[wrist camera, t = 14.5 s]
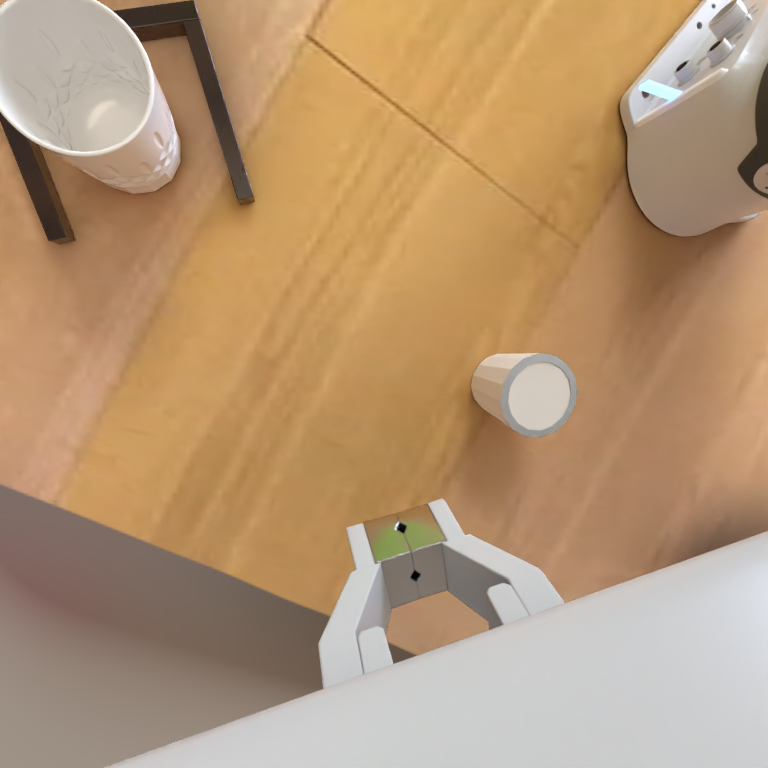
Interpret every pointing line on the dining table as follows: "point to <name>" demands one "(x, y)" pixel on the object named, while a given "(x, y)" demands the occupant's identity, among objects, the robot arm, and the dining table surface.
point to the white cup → (86, 92)
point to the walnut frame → (187, 22)
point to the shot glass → (526, 391)
